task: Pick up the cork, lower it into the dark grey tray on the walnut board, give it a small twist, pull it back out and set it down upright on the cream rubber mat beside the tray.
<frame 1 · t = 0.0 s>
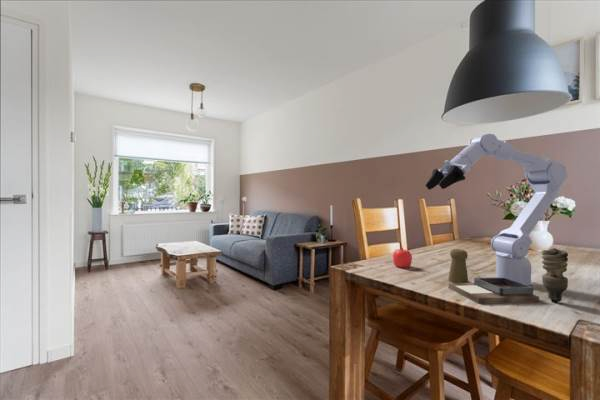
hand: (433, 187, 92), 32 cm above the table, tool tilted 50°, fingers open, 7 cm apart
apple: (402, 267, 115), on the table
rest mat: (473, 294, 82), resting on walnut board
walnut board: (490, 294, 82), on the table
dark grey tray: (501, 294, 83), resting on walnut board
light bulb: (553, 302, 77), on the table
cork: (458, 281, 95), on the table
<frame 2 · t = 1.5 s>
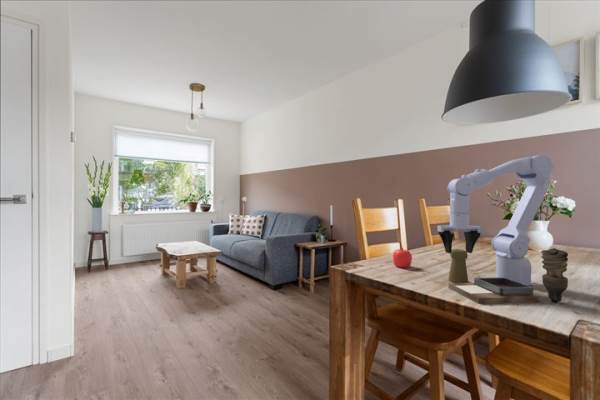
hand: (458, 252, 95), 10 cm above the table, tool pointing down, fingers open, 7 cm apart
nothing on the table moved.
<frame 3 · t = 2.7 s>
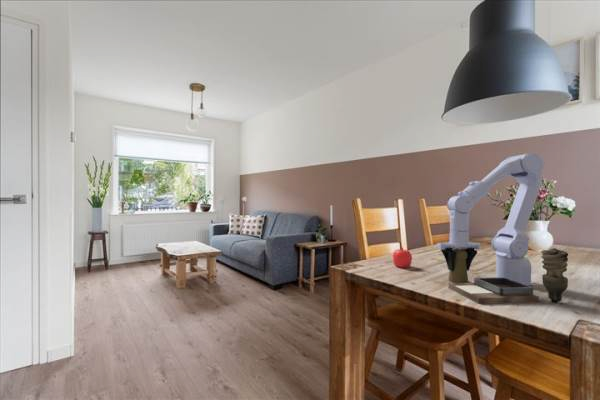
hand: (458, 270, 95), 4 cm above the table, tool pointing down, fingers closed on cork, 5 cm apart
cork: (458, 281, 95), on the table, touching gripper
everything else where it was.
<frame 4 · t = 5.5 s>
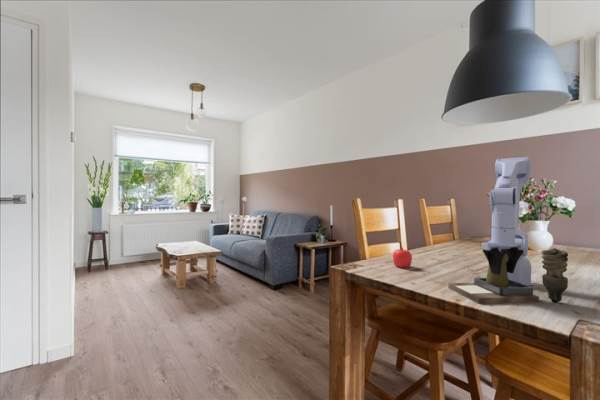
hand: (502, 273, 83), 6 cm above the table, tool pointing down, fingers closed on cork, 5 cm apart
cork: (496, 288, 84), point 1 cm above the table, touching gripper, walnut board
everything else where it was.
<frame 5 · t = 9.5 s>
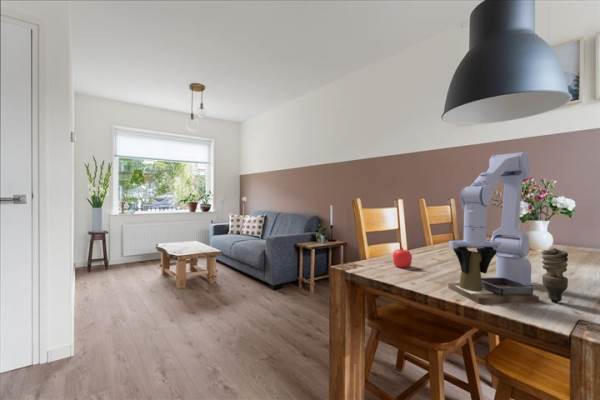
hand: (474, 272, 82), 7 cm above the table, tool pointing down, fingers closed on cork, 5 cm apart
cork: (470, 288, 83), point 2 cm above the table, touching gripper, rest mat
everything else where it was.
when the fingers open (7 cm above the table, at t = 9.9 s): cork stays where it is, resting on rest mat.
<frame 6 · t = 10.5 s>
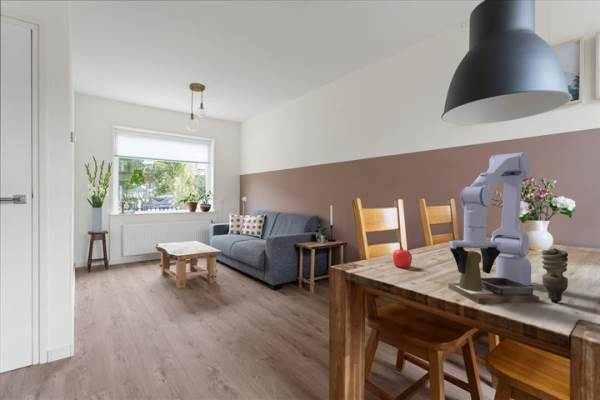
hand: (474, 272, 82), 7 cm above the table, tool pointing down, fingers open, 7 cm apart
cork: (470, 288, 83), point 2 cm above the table, touching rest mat
everything else where it was.
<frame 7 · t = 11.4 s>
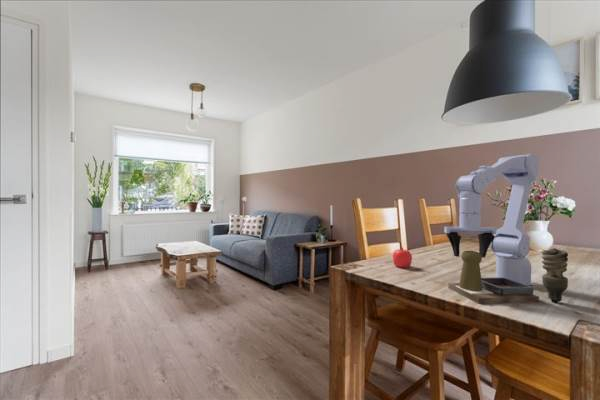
hand: (469, 256, 87), 10 cm above the table, tool pointing down, fingers open, 7 cm apart
nothing on the table moved.
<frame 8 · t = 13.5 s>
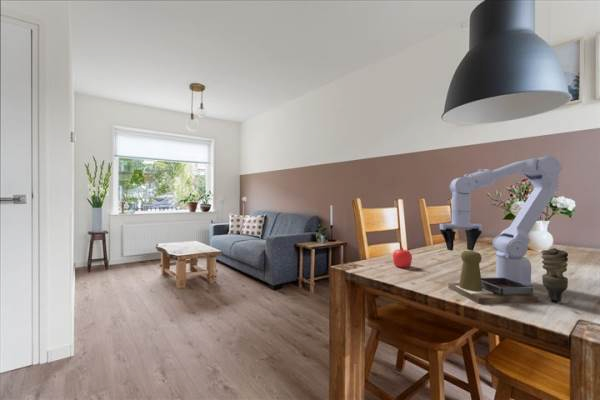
hand: (460, 250, 97), 10 cm above the table, tool pointing down, fingers open, 7 cm apart
nothing on the table moved.
at the end: cork 1.2 cm off-centre on the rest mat, point 1.5 cm above the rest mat's base; cork tilted 0°; the gripper is holding nothing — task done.
